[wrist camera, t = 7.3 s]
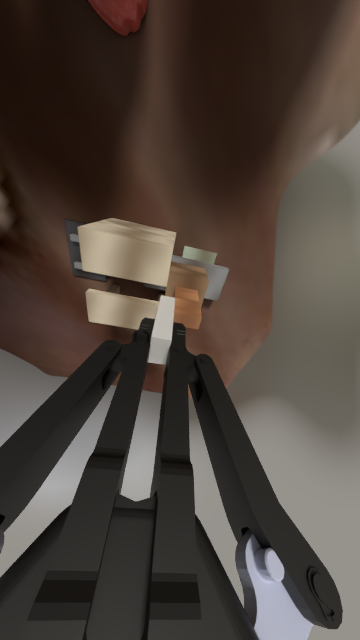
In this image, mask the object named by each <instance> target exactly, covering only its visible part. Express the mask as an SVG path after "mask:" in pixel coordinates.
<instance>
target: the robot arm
mask: <svg viewBox="0 0 360 640" xmlns="http://www.w3.org/2000/svg"><path fill="white" fill-rule="evenodd" d="M174 306H175V298H174V297H168V296H163V295H161V297H160V301H159V306H158V310H157V314H156V319H152V318H146V317H145V318H144V319H142V320H141V323H140V326H139V329H138V330H137V331H135V332H134V333H133V340H132V342H131V343H129V344H120V343H119V342H118V341H116V340H108V341H105V342H104V343H102V344H101V345H100V346H99V347H98V348H97V349H96V350H95V351H94V352H93V353H92V354H91V355H90V356H89V357H88V358H87V359H86V361H85V362H84V363H83V364H82V365H81V366H80V367H79V368H78V369H77V370H76V371H75V372H74V373H73V374H72V375H71V376H70V377H69V378H68V379H67V380H66V381H65V382H64V383H63V384H62V385H61V386H60V387H59V388H58V389H57V390H56V391H55V392H54V393H53V394H52V395H51V396H50V397H49V398H48V399H47V400H46V401H45V402H44V403H43V404H42V405H41V406H40V407H39V408H38V409H37V410H36V411H35V412H34V413H33V414H32V415H31V417H30V418H29V419H28V420H27V421H26V422H25V423H24V424H23V425H22V426H21V427H20V428H19V429H18V430H17V431H16V432H15V433H14V434H13V435H12V436H11V437H10V438H9V439H8V440H7V441H6V442H5V443H4V444H3V445H2V446H1V447H0V553H1V550H2V547H3V544H4V532H5V530H6V529H7V528H8V527H9V526H10V525H11V524H12V523H13V522H14V520H15V519H16V518H17V517H18V516H19V514H20V513H21V512H22V511H23V510H24V509H25V507H26V506H27V505H28V503H29V502H30V500H31V499H32V498H33V497H34V495H35V494H36V492H37V491H38V490H39V488H40V487H41V485H42V484H43V482H44V481H45V480H46V478H47V477H48V475H49V474H50V472H51V471H52V469H53V468H54V467H55V465H56V464H57V462H58V461H59V459H60V458H61V456H62V455H63V453H64V452H65V451H66V449H67V448H68V446H69V445H70V444H71V441H73V439H74V438H75V436H76V435H77V433H78V432H79V431H80V429H81V428H82V426H83V425H84V423H85V422H86V420H87V419H88V417H89V416H90V415H91V413H92V412H93V410H94V409H95V407H96V406H97V405H98V403H99V402H100V400H101V399H102V397H103V396H104V394H105V393H106V392H107V390H108V389H109V387H110V386H111V385H112V383H113V382H114V380H115V379H116V377H117V376H118V374H119V373H120V372H122V373H121V376H120V379H119V381H118V384H117V387H116V390H115V393H114V396H113V399H112V401H111V404H110V407H109V410H108V413H107V416H106V418H105V421H104V424H103V427H102V430H101V432H100V435H99V438H98V441H97V444H96V447H95V449H94V452H93V453H92V454H91V456H90V457H89V459H88V462H87V464H86V467H85V469H84V472H83V474H82V477H81V480H80V483H79V485H78V488H77V491H76V494H75V496H74V499H73V502H72V504H71V505H70V506H69V507H67V508H66V509H65V510H64V511H63V512H61V513H60V514H59V515H58V516H57V517H56V518H55V519H54V521H52V523H51V524H50V525H49V526H48V527H47V528H46V529H45V530H44V531H43V532H42V533H41V534H40V535H39V536H38V538H37V539H36V540H35V541H34V542H33V543H32V544H31V545H30V546H29V547H28V548H27V549H26V550H25V552H24V553H23V554H22V555H21V556H20V557H19V558H18V559H17V560H16V561H15V562H14V563H13V564H12V566H11V567H10V568H9V569H8V570H7V571H6V572H5V573H4V574H3V575H2V576H1V577H0V640H307V639H308V636H309V633H310V631H311V628H312V626H313V625H318V626H321V627H324V628H327V629H338V627H339V626H340V624H341V623H342V612H343V610H342V605H341V600H340V596H339V593H338V590H337V588H336V585H335V583H334V581H333V579H332V577H331V576H330V574H329V572H328V571H327V569H326V567H325V566H324V565H323V563H322V562H321V561H320V559H319V558H318V556H317V555H316V554H315V552H314V551H313V549H312V548H311V547H310V545H309V544H308V542H307V541H306V540H305V538H304V537H303V535H302V534H301V533H300V531H299V530H298V528H297V527H296V526H295V524H294V523H293V522H292V520H291V519H290V518H289V516H288V515H287V513H286V512H285V510H284V509H283V508H282V506H281V505H280V504H279V502H278V499H277V497H276V495H275V493H274V491H273V489H272V486H271V484H270V482H269V480H268V478H267V476H266V474H265V471H264V469H263V467H262V465H261V463H260V461H259V459H258V457H257V454H256V452H255V450H254V448H253V446H252V444H251V441H250V439H249V437H248V435H247V433H246V431H245V429H244V426H243V424H242V422H241V420H240V418H239V416H238V414H237V411H236V409H235V407H234V405H233V403H232V401H231V399H230V396H229V394H228V392H227V390H226V388H225V386H224V383H223V381H222V379H221V377H220V375H219V373H218V370H217V368H216V366H215V364H214V362H213V360H212V359H211V357H209V356H208V355H206V354H199V355H198V356H195V355H193V354H191V353H189V352H188V351H187V348H186V346H185V326H184V325H183V324H182V323H176V322H173V318H174ZM148 362H150V363H157V364H163V365H166V368H165V372H164V383H163V392H162V401H161V410H160V420H159V428H158V438H157V446H156V455H155V465H154V474H153V480H152V485H151V493H150V498H147V499H144V500H141V501H137V502H135V501H133V500H131V499H129V498H126V497H124V496H122V495H120V493H121V488H122V483H123V477H124V472H125V467H126V463H127V458H128V453H129V448H130V444H131V439H132V435H133V430H134V425H135V420H136V416H137V411H138V406H139V402H140V396H141V392H142V388H143V383H144V378H145V374H146V369H147V363H148ZM188 384H189V388H190V391H191V394H192V398H193V401H194V405H195V408H196V412H197V415H198V419H199V422H200V426H201V429H202V433H203V436H204V440H205V443H206V446H207V450H208V454H209V457H210V461H211V464H212V468H213V471H214V475H215V478H216V482H217V485H218V489H219V492H220V496H221V499H222V502H223V506H224V509H225V512H226V515H227V518H228V521H229V524H230V526H231V529H232V531H233V533H234V536H235V538H236V540H237V542H238V545H237V547H236V554H235V561H236V567H237V571H238V574H239V577H240V581H241V584H242V587H243V593H244V608H243V606H242V604H241V602H240V600H239V598H238V596H237V594H236V592H235V590H234V588H233V586H232V584H231V582H230V580H229V578H228V576H227V574H226V572H225V570H224V568H223V566H222V564H221V562H220V560H219V558H218V556H217V554H216V552H215V550H214V548H213V546H212V544H211V542H210V540H209V538H208V536H207V534H206V532H205V530H204V528H203V526H202V524H201V522H200V520H199V519H198V517H197V516H196V515H195V505H194V476H193V468H192V464H191V462H190V448H189V407H188Z"/></svg>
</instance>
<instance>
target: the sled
mask: <svg viewBox="0 0 360 640" xmlns="http://www.w3.org/2000/svg"><path fill="white" fill-rule="evenodd" d="M228 272H229V269H228V267H223V266H218V265H214V264H209V263H204V262H200V261H195V260H190V259H186V258H181V257H176V256H172V259H171V265H170V271H169V276H168V282H167V287H164V286H159V285H154V284H149V283H144V287H149V288H154V289H159V290H164V291H166V292H165V296H168V297H174V298H175V306H174V318H173V322H176V323H182V324H183V325H184V326H185V327H188V328H193V329H198V328H199V325H200V322H201V319H202V316H201V310H200V309H201V306H202V303H203V300H204V298H206V299H211V300H216V301H218V298H219V296H220V293H221V290H222V288H223V285H224V282H225V280H226V277H227V274H228Z"/></svg>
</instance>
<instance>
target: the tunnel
mask: <svg viewBox="0 0 360 640" xmlns="http://www.w3.org/2000/svg"><path fill="white" fill-rule="evenodd" d="M65 226H66V233H67V239H68V245H69V252H70V258H71V264H72V271H73V275H76V276H81V277H86V278H91V279H96V280H102V281H107V280H106V275H108V276H113V277H118V278H123V279H129V280H134V281H139V282H144V283H149V284H154V285H159V286H164V287H167V282H168V276H169V271H170V265H171V259H172V256H176V255H172V253H173V248H174V243H175V238H176V232H172V231H167V230H163V229H159V228H154V227H150V226H146V225H141V224H137V223H133V222H128V221H124V220H120V219H115V218H109V219H105V220H101V221H98V222H94V223H90V224H84V223H80V222H75V221H71V220H66V219H65ZM216 255H217V253H214V252H210V251H205V250H201V249H196V248H192V247H187V246H184V250H183V255H182V257H181V256H176V257H181V258H186V259H190V260H195V261H200V262H204V263H209V264H214V262H215V258H216ZM119 293H120V285H115V284H113V285H112V286H111V287H110V289H109V290H108V291H107V292H105V291H99V290H94V289H89V290H88V291H86V300H87V308H88V317H89V322H95V323H101V324H107V325H113V326H119V327H125V328H131V329H137V330H138V329H139V326H140V323H141V320H142V319H144V318H145V317H146V318H152V319H156V314H157V310H158V306H159V301H160V297H161V295H163V296H165V294H163V293H159V294H158V298H157V301H153V300H148V299H142V298H137V297H132V296H126V295H121V294H119Z"/></svg>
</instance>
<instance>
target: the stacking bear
mask: <svg viewBox="0 0 360 640" xmlns="http://www.w3.org/2000/svg"><path fill="white" fill-rule="evenodd" d="M88 2H89V3H90V4H91V6H92V7H93V8H94V10H95V11H96V12H97V13H98V15H99V16H100V17H101V18H102V19H103V20H104V21H105V22H106V23H107V24H108V25H109V26H110V27H111V28H112V29H113V30H115V31H116V32H117V33H119V34H120V35H123V36H126V35H128V33H129V32H136V31H137V30H138V29H139V27H140V24H141V19H142V18H143V17H144V15H145V13H146V9H147V3H148V0H88Z"/></svg>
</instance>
